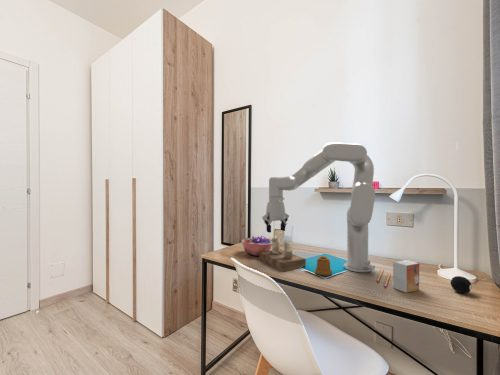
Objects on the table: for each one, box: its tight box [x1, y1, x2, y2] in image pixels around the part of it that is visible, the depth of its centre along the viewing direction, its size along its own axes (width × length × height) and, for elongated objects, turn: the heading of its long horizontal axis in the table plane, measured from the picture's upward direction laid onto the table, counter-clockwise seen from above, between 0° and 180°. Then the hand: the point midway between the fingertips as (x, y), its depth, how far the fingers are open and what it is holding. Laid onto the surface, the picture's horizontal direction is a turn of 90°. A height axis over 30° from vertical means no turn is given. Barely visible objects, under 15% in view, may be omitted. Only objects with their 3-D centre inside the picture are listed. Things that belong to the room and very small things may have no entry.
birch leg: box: [271, 237, 281, 255], centre depth 132 cm, size 4×4×12 cm
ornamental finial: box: [314, 255, 333, 277], centre depth 112 cm, size 8×8×8 cm
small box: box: [392, 259, 420, 293], centre depth 96 cm, size 8×6×10 cm
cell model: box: [241, 235, 272, 257], centre depth 144 cm, size 17×20×11 cm
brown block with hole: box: [258, 241, 307, 272], centre depth 128 cm, size 22×14×12 cm, turn 29°
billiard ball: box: [450, 275, 473, 294], centre depth 92 cm, size 6×6×6 cm
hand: (275, 231), depth 132 cm, fingers open, 8 cm apart
